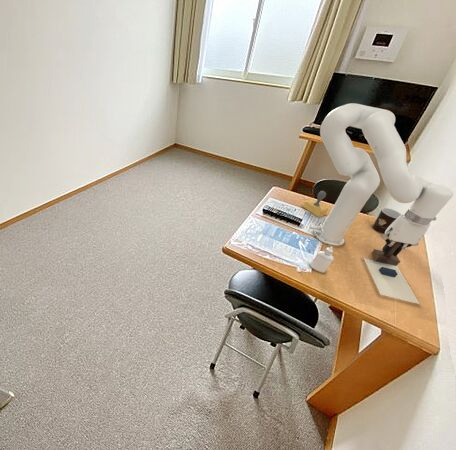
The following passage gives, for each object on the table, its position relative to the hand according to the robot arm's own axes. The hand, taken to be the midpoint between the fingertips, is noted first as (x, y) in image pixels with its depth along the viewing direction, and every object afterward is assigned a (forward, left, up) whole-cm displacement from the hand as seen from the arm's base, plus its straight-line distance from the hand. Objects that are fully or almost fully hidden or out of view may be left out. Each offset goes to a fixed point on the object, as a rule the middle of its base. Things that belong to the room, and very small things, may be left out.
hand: (388, 252), depth 112 cm
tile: (0, -10, -6) cm, 12 cm away
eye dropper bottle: (-27, -13, -7) cm, 31 cm away
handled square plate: (0, 0, -4) cm, 4 cm away
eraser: (0, -7, -5) cm, 9 cm away
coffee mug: (+10, +27, -7) cm, 29 cm away
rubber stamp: (-21, +33, -7) cm, 40 cm away
